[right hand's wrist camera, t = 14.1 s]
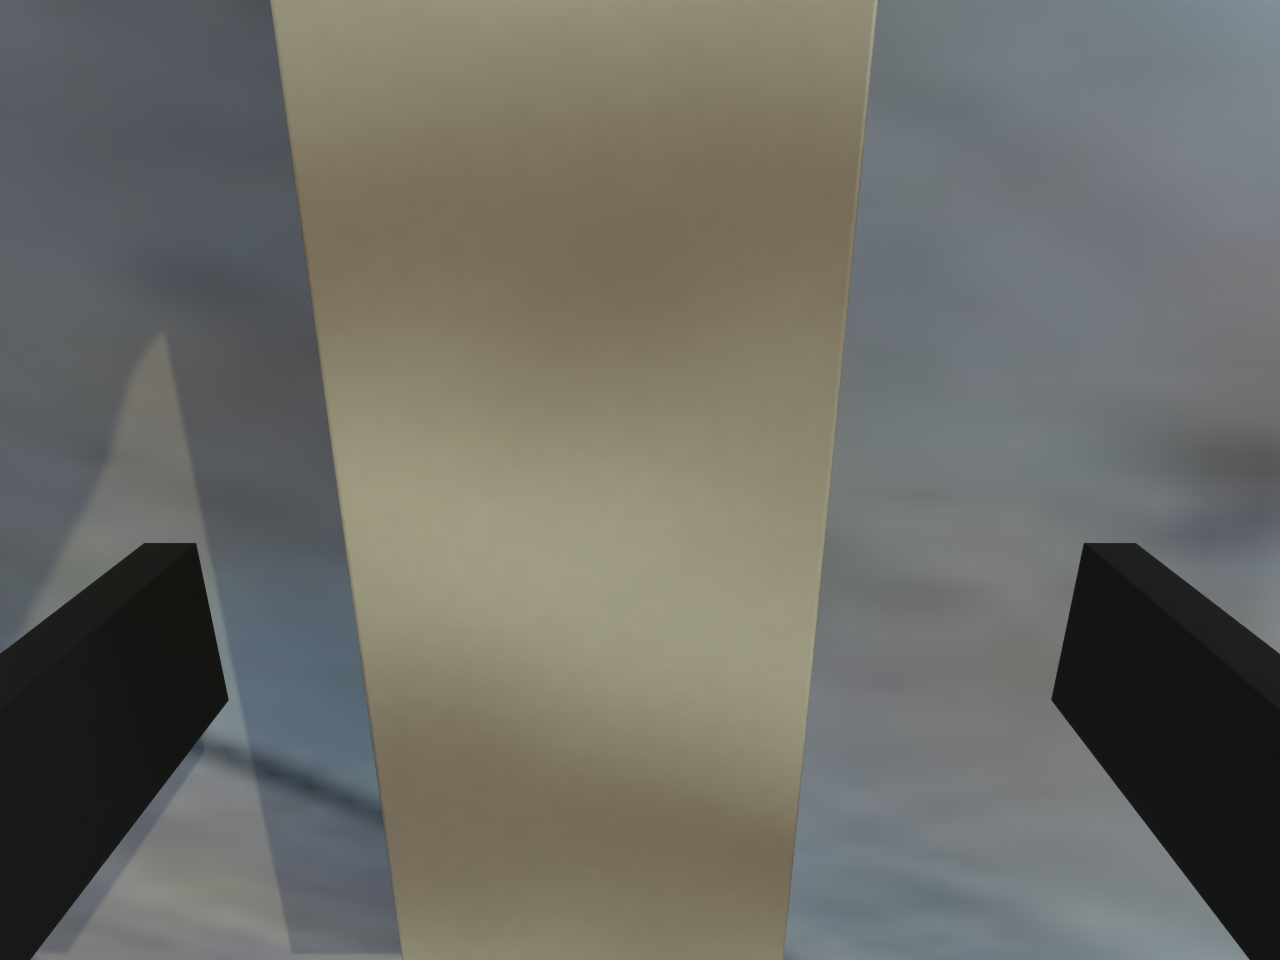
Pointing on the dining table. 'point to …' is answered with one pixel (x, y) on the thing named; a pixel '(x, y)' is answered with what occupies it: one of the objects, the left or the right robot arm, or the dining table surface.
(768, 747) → the plank
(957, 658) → the dining table surface
